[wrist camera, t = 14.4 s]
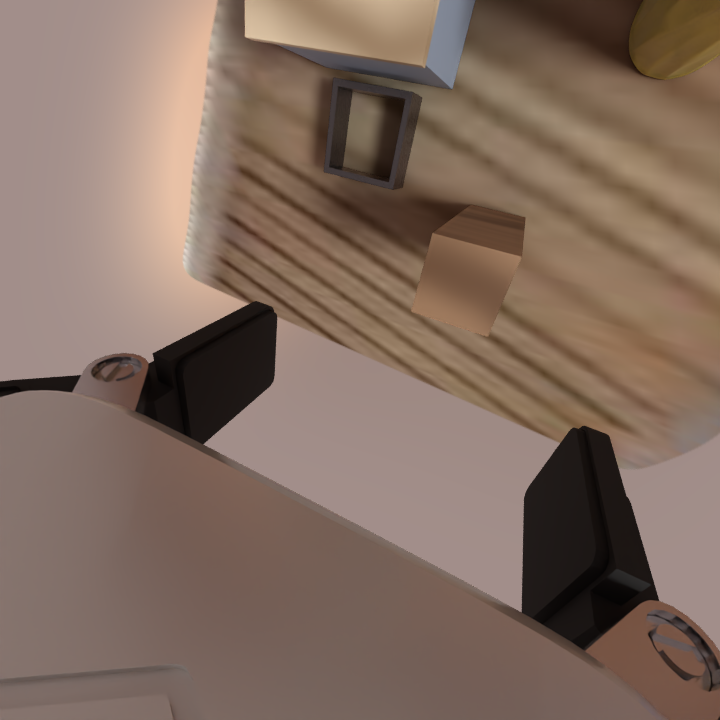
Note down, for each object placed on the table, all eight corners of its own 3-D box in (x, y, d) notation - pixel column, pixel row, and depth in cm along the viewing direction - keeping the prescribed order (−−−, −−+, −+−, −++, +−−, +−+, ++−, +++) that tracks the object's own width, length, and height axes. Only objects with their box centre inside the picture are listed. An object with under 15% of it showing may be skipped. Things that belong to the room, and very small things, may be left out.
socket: (348, 83, 32) (333, 77, 30) (422, 97, 30) (413, 92, 28) (337, 171, 36) (323, 171, 34) (402, 187, 34) (392, 189, 32)
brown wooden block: (470, 204, 33) (432, 233, 20) (525, 217, 31) (521, 256, 19) (454, 256, 35) (411, 311, 23) (503, 270, 34) (487, 336, 21)
